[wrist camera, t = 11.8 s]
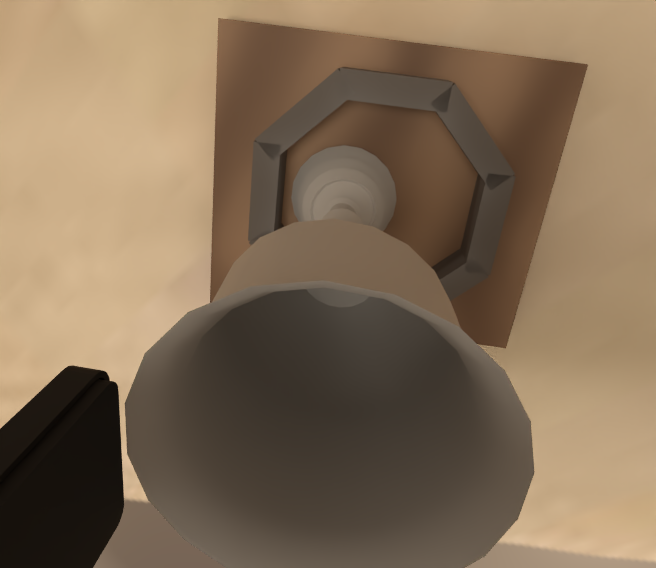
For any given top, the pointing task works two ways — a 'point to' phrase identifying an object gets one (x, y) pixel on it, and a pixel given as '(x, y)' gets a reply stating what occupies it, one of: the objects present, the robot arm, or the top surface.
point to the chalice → (330, 400)
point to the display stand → (396, 149)
